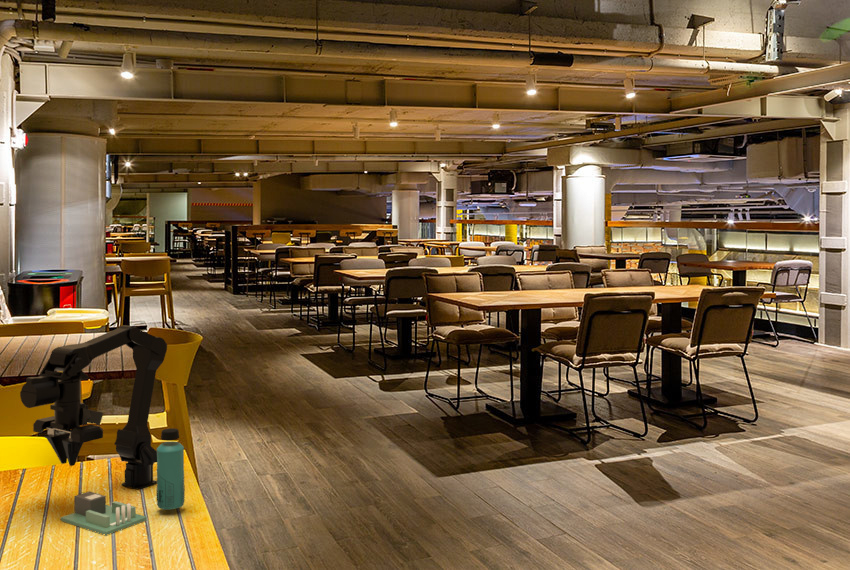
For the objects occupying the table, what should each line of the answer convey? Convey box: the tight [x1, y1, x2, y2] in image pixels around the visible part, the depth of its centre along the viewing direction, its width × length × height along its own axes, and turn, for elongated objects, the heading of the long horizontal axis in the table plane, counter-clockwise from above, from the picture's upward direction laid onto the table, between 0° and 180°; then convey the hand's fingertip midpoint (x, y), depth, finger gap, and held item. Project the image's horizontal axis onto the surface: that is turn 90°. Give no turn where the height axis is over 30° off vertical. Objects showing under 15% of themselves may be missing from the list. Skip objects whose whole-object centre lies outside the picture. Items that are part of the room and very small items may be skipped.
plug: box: [73, 490, 107, 516], centre depth 180 cm, size 6×4×4 cm, turn 58°
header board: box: [60, 500, 148, 536], centre depth 178 cm, size 16×11×5 cm
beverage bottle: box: [155, 428, 186, 510], centre depth 184 cm, size 6×7×20 cm
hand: (68, 464), depth 184 cm, fingers open, 3 cm apart
